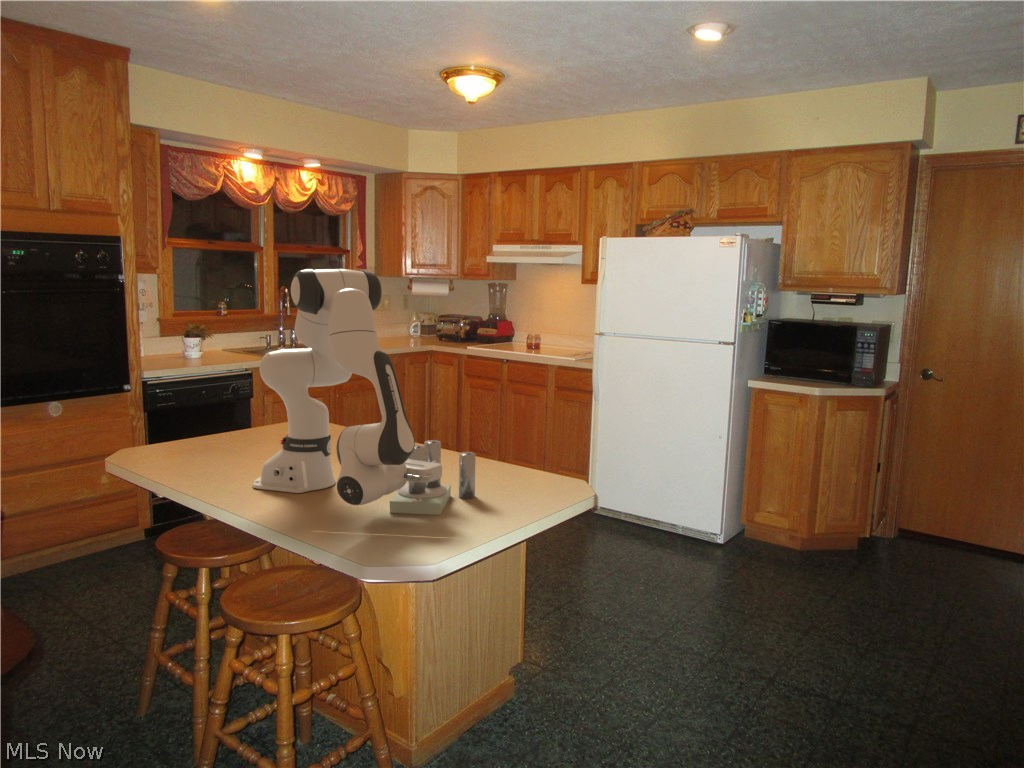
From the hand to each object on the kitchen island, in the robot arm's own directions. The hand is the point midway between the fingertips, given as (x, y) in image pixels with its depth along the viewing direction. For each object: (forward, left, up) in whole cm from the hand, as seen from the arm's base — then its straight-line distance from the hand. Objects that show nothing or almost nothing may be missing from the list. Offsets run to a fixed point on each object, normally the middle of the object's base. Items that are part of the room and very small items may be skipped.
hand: (418, 461), depth 185 cm
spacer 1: (0, -1, -8) cm, 8 cm away
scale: (+1, 0, -12) cm, 12 cm away
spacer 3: (+12, +8, -12) cm, 18 cm away
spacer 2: (+3, +5, -8) cm, 10 cm away
